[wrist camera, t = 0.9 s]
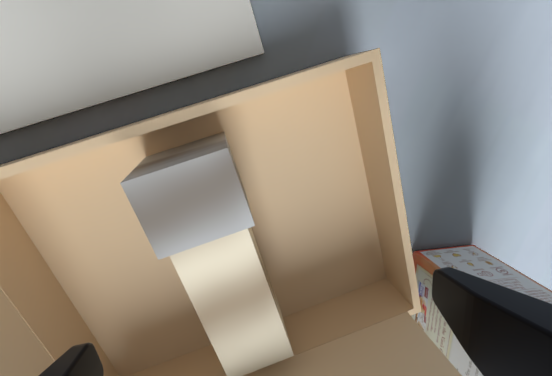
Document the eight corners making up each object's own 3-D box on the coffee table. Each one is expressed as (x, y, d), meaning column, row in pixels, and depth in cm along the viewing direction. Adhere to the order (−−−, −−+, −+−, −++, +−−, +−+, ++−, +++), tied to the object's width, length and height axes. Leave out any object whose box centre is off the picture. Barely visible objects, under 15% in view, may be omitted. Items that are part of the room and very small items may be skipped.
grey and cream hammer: (283, 299, 23) (302, 358, 18) (221, 322, 23) (222, 389, 18) (224, 131, 19) (227, 147, 14) (146, 156, 18) (120, 183, 13)
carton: (119, 380, 23) (65, 547, 15) (-19, 170, 17) (-236, 248, 9) (390, 277, 25) (479, 374, 17) (347, 55, 19) (451, 31, 11)
